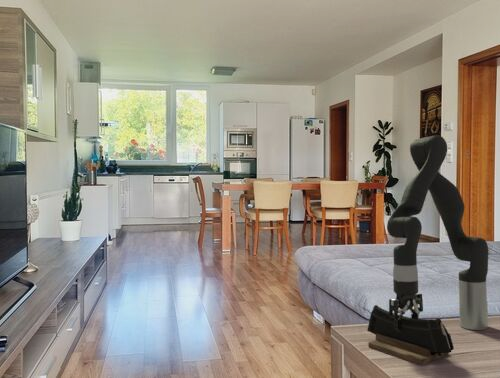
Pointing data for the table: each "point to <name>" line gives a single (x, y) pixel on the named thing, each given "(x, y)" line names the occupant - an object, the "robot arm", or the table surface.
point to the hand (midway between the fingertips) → (406, 328)
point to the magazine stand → (404, 350)
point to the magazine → (412, 331)
